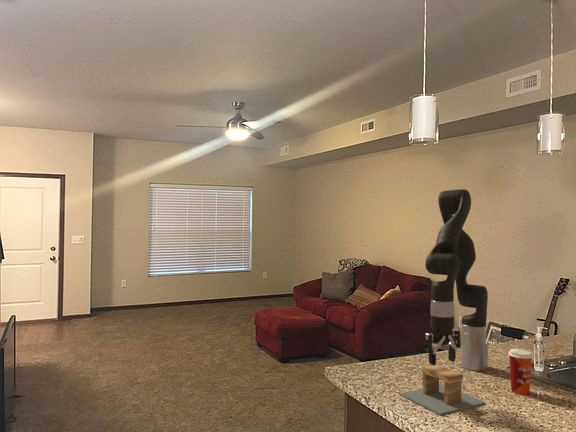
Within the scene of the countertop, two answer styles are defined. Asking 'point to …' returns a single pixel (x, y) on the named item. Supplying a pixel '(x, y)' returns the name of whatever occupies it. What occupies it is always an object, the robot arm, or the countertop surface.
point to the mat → (441, 401)
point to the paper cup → (520, 370)
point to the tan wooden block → (448, 376)
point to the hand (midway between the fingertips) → (442, 362)
